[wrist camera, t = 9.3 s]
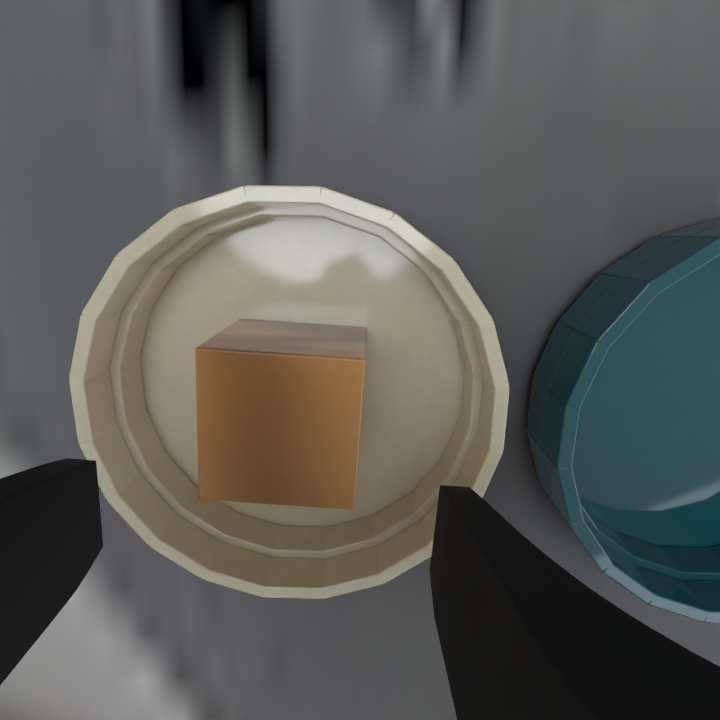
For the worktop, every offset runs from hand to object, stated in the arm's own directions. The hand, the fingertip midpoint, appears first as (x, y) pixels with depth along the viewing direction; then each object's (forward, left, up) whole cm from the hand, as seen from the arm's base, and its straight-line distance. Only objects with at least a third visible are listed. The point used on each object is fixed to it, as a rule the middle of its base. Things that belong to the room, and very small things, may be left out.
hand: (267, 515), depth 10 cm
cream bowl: (0, 0, -8) cm, 8 cm away
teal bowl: (-14, -4, -8) cm, 16 cm away
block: (+1, 0, -8) cm, 8 cm away
